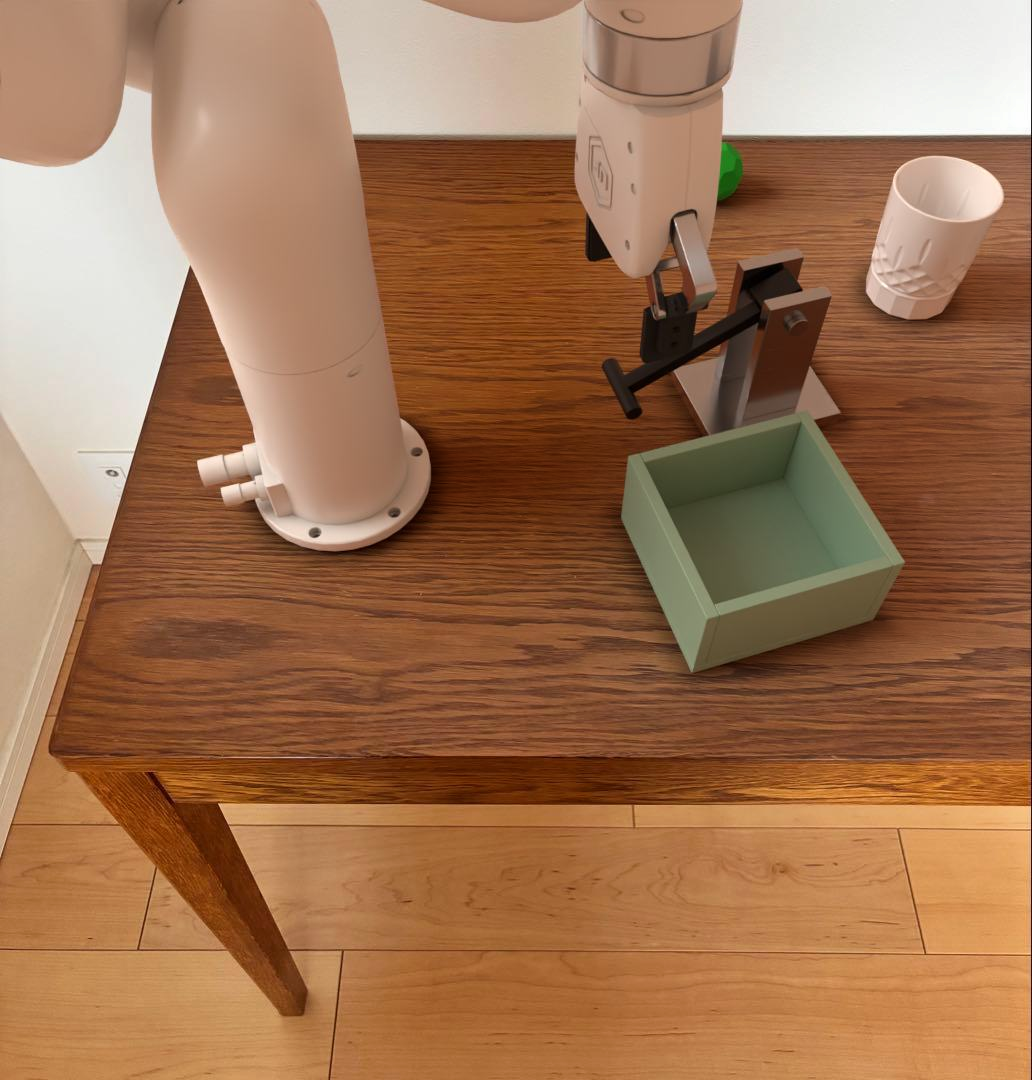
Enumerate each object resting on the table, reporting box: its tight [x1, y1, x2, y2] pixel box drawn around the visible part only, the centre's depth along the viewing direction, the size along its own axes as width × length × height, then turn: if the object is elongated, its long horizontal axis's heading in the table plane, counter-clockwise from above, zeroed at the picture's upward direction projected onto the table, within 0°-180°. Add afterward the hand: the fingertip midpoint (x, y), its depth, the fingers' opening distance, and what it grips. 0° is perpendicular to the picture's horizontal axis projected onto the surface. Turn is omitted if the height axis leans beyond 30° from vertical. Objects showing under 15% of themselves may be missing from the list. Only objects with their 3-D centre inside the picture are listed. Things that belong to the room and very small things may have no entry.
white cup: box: [865, 155, 1005, 320], centre depth 77 cm, size 8×8×10 cm
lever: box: [601, 267, 804, 421], centre depth 67 cm, size 14×5×2 cm, turn 107°
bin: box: [620, 411, 906, 674], centre depth 63 cm, size 13×13×7 cm
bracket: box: [670, 247, 841, 437], centre depth 69 cm, size 10×8×12 cm
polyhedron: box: [717, 141, 744, 201], centre depth 87 cm, size 5×5×5 cm
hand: (635, 302), depth 62 cm, fingers open, 9 cm apart
